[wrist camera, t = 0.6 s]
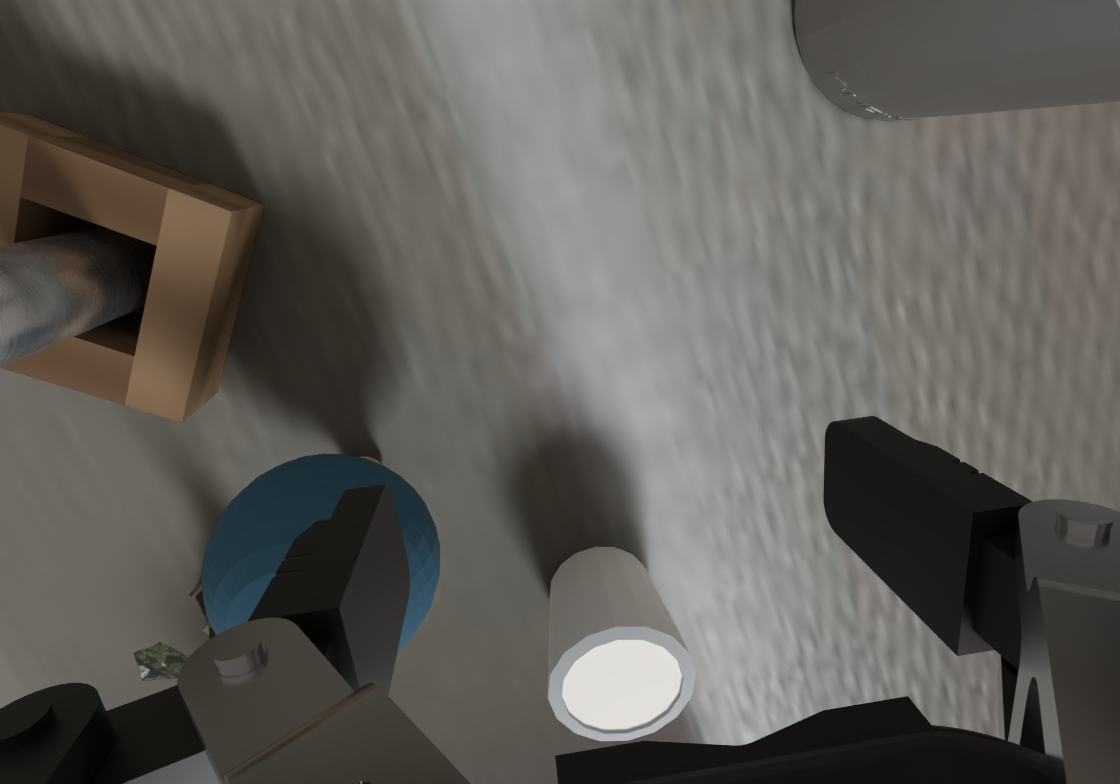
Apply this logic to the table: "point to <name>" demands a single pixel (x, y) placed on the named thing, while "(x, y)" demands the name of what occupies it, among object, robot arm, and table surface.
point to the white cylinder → (613, 649)
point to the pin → (68, 287)
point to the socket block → (177, 275)
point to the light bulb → (286, 512)
